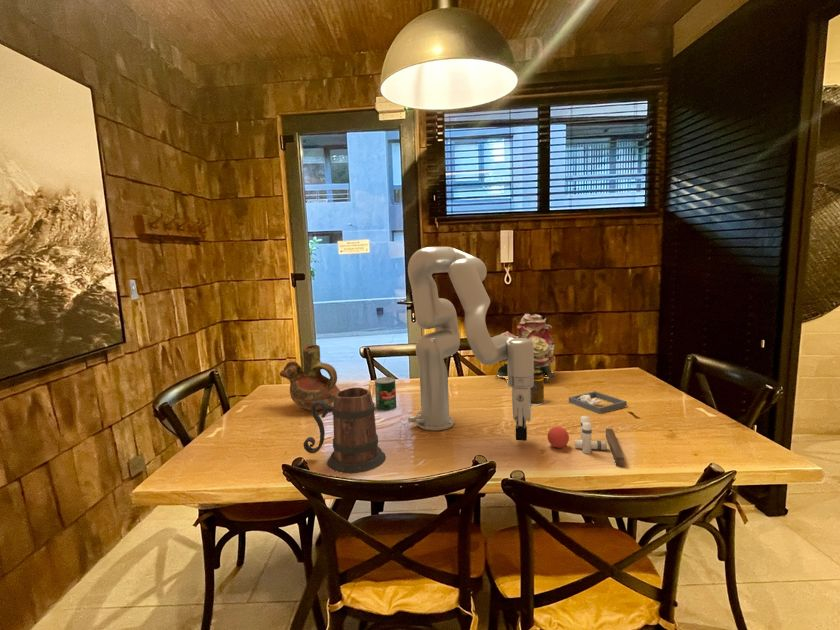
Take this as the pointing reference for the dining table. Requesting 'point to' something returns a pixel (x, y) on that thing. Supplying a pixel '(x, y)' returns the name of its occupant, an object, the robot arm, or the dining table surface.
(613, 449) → the wall
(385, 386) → the canned tomato
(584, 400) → the anatomical pelvis
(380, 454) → the tankard
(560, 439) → the ball
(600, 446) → the front pin
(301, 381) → the ceramic vessel
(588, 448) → the back right pin
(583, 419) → the back left pin
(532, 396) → the condiment
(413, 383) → the dining table surface
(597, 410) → the grey square tray
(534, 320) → the rose bouquet
